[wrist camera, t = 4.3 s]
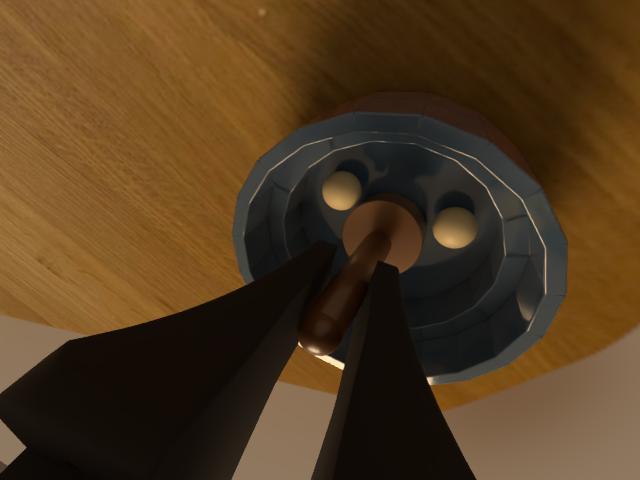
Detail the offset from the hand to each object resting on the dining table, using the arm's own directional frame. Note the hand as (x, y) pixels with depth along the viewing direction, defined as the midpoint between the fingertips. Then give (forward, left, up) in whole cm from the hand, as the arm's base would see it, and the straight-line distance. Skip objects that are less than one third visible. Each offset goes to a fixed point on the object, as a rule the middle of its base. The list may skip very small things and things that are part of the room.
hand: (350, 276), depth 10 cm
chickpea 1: (+1, +1, -5) cm, 5 cm away
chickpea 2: (-1, -3, -5) cm, 6 cm away
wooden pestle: (-1, 0, -6) cm, 6 cm away
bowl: (-1, 0, -7) cm, 7 cm away
